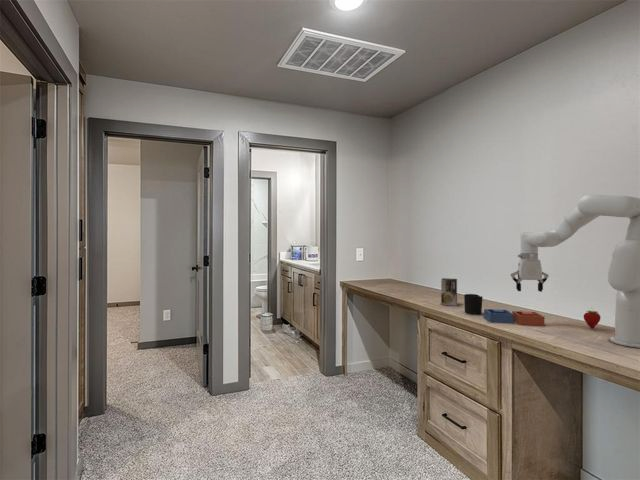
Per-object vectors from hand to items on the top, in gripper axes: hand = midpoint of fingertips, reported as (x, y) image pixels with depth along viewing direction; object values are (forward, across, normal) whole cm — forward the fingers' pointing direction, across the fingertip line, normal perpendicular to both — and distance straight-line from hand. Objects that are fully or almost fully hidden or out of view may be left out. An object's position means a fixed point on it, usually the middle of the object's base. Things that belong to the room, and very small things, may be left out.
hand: (529, 291), depth 186 cm
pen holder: (+16, -23, +19) cm, 33 cm away
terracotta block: (+16, -1, +1) cm, 16 cm away
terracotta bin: (+16, -1, +1) cm, 16 cm away
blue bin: (+16, -14, +4) cm, 21 cm away
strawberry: (+17, +25, -5) cm, 31 cm away
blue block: (+15, -14, +4) cm, 21 cm away
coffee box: (+15, -32, +42) cm, 54 cm away
